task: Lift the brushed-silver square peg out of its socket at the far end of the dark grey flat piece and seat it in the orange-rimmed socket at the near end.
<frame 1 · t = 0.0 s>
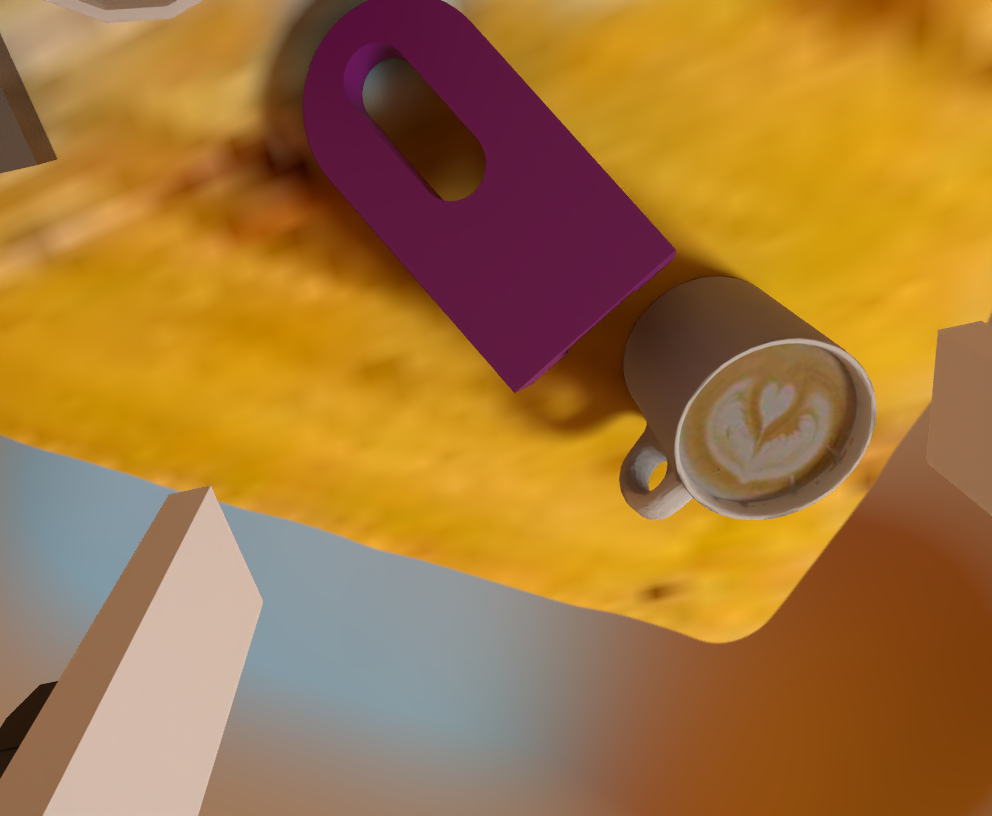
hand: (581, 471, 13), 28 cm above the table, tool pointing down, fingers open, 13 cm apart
mounting bracket: (471, 173, 38), on the table
coffee mug: (679, 372, 44), on the table
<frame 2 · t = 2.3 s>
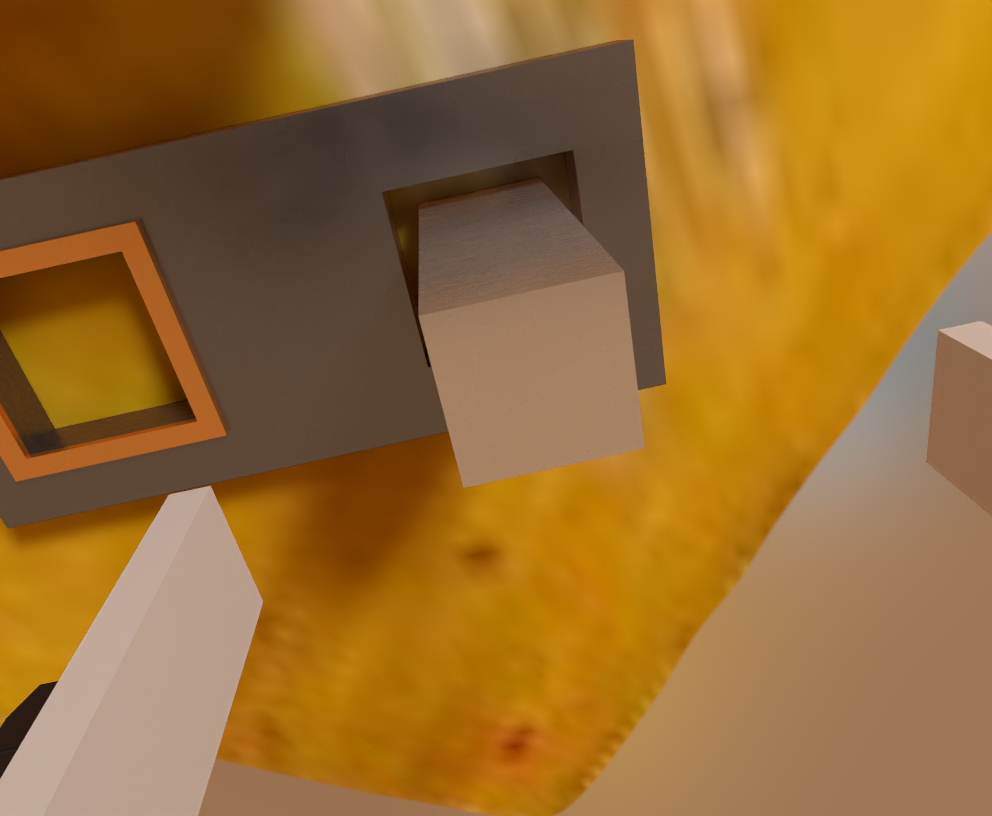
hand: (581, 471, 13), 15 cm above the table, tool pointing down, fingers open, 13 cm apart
peg: (491, 250, 27), resting in dark grey flat piece
dark grey flat piece: (294, 293, 27), on the table
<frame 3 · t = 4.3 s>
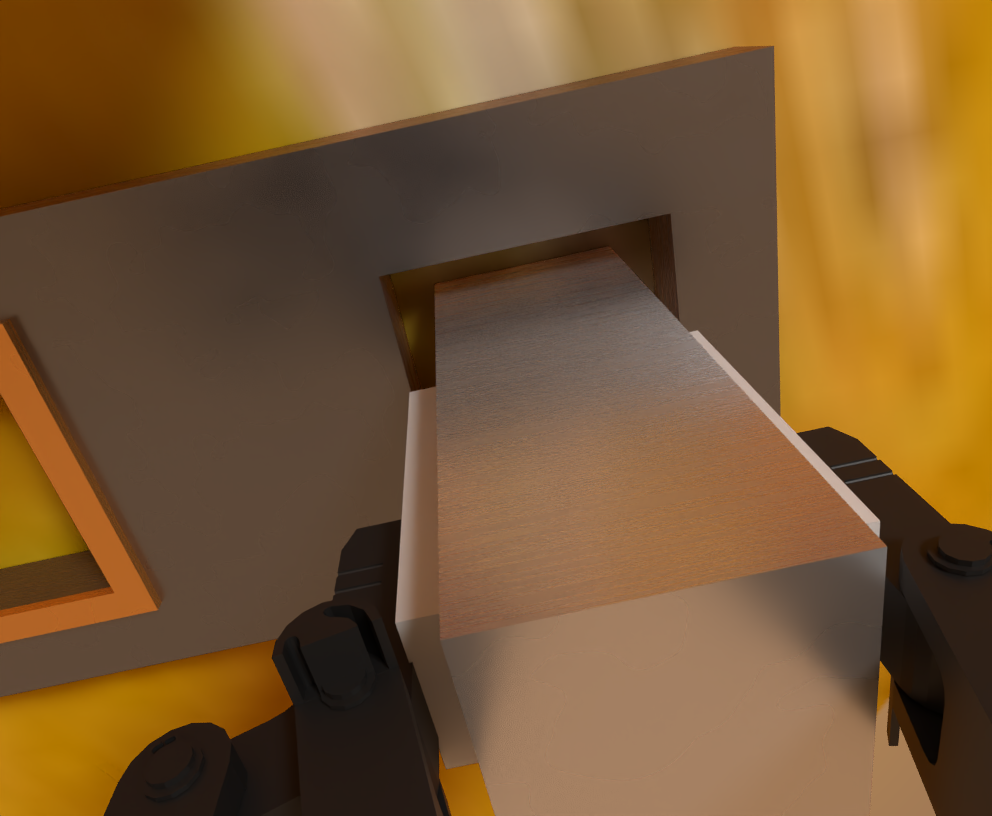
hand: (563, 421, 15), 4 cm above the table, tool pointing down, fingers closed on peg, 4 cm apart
peg: (536, 346, 19), resting in dark grey flat piece, touching gripper
dark grey flat piece: (255, 407, 19), on the table
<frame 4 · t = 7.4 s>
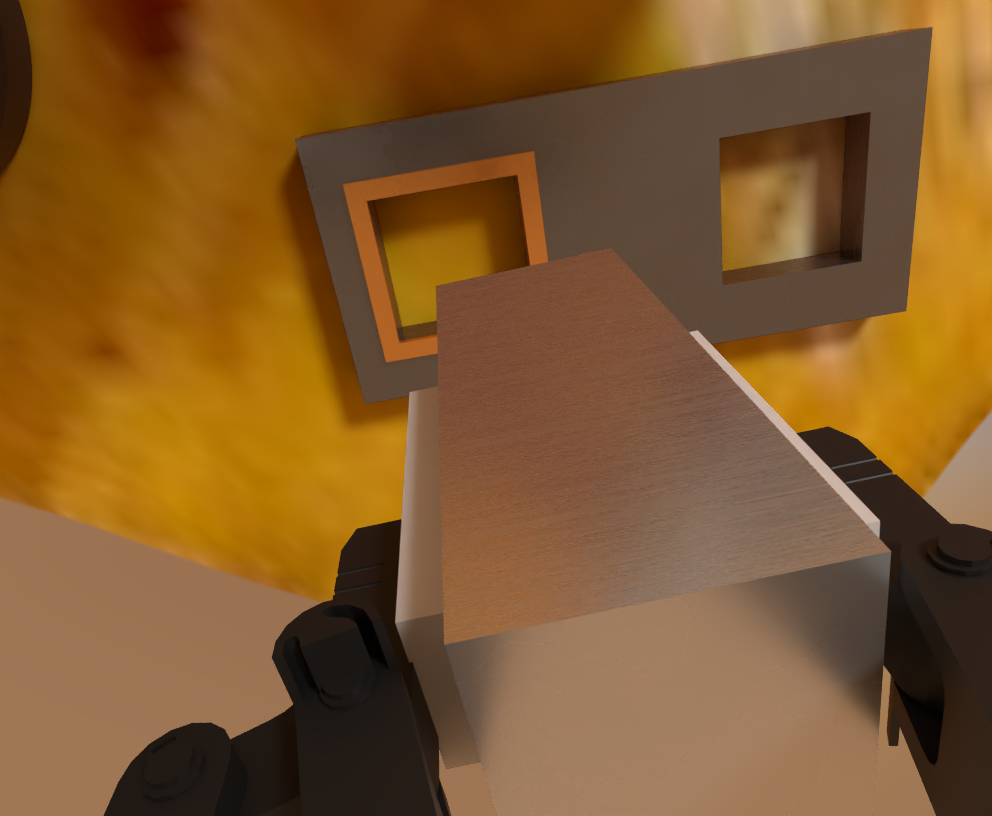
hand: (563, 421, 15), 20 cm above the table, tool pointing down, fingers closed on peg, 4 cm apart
peg: (538, 348, 19), point 16 cm above the table, touching gripper
dark grey flat piece: (614, 223, 33), on the table
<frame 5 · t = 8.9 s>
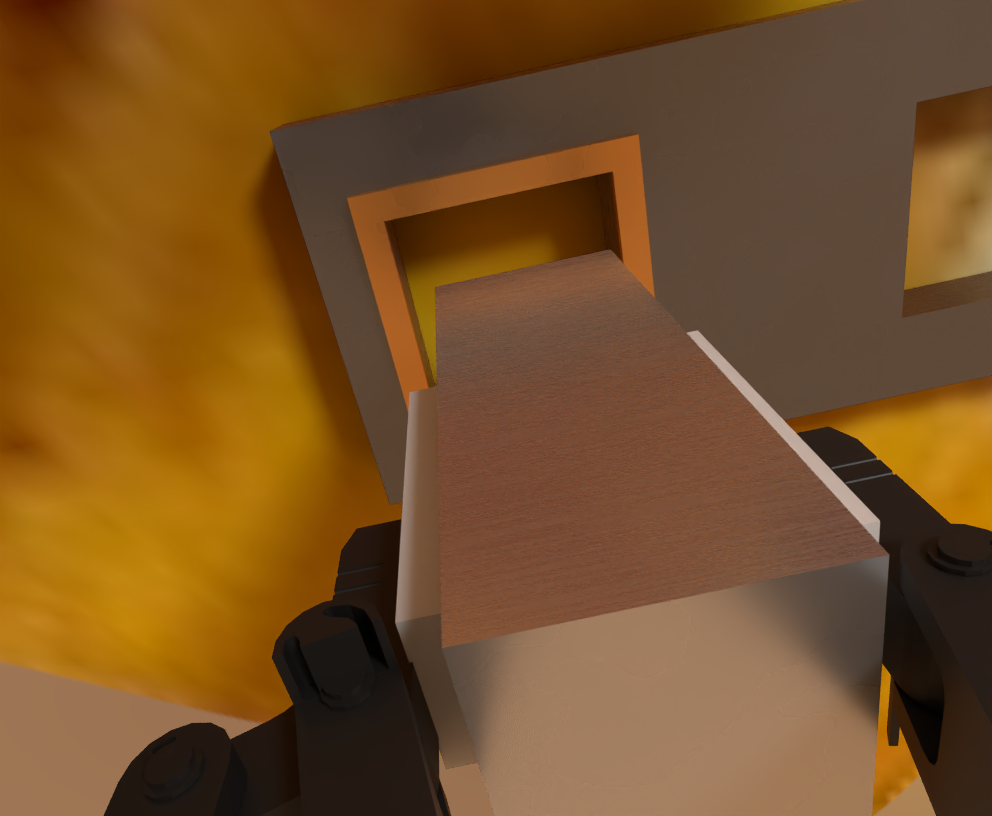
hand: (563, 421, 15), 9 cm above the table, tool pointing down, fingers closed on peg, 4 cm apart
peg: (537, 349, 19), point 5 cm above the table, touching gripper
dark grey flat piece: (739, 233, 23), on the table
when the fingers open (6 cm above the table, at t = 10.3 s): peg drops 1 cm, resting in dark grey flat piece.
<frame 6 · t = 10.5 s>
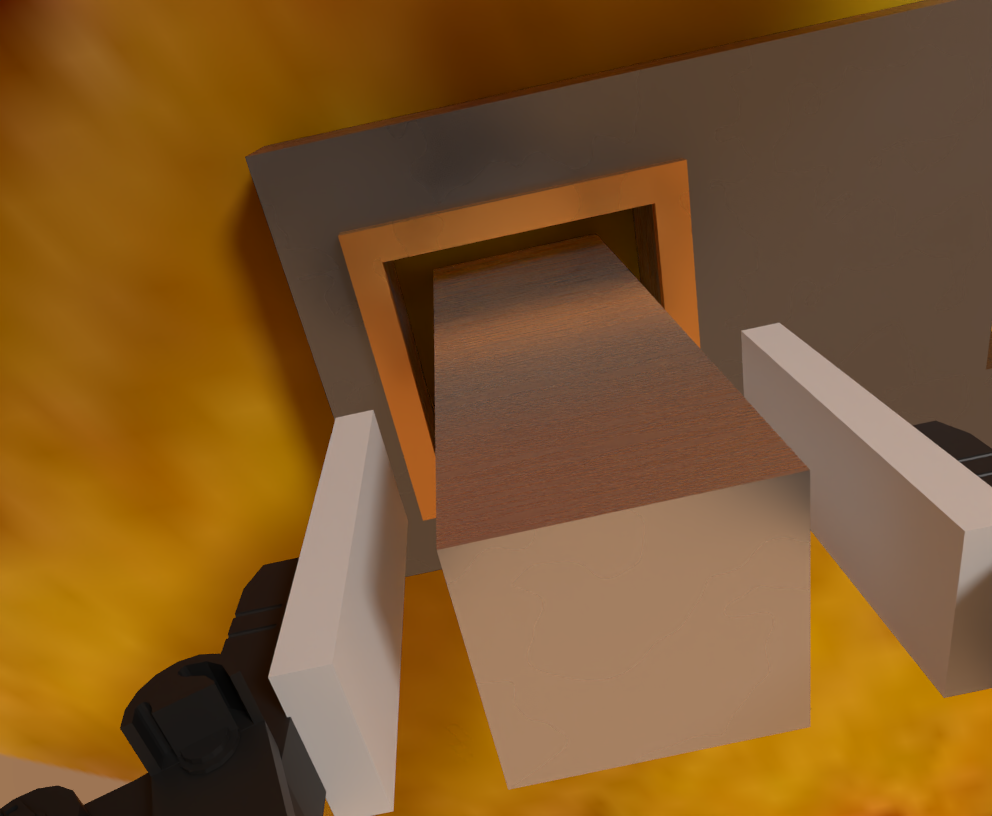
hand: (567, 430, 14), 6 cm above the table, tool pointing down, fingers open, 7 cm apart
peg: (529, 328, 20), resting in dark grey flat piece
dark grey flat piece: (795, 270, 20), on the table
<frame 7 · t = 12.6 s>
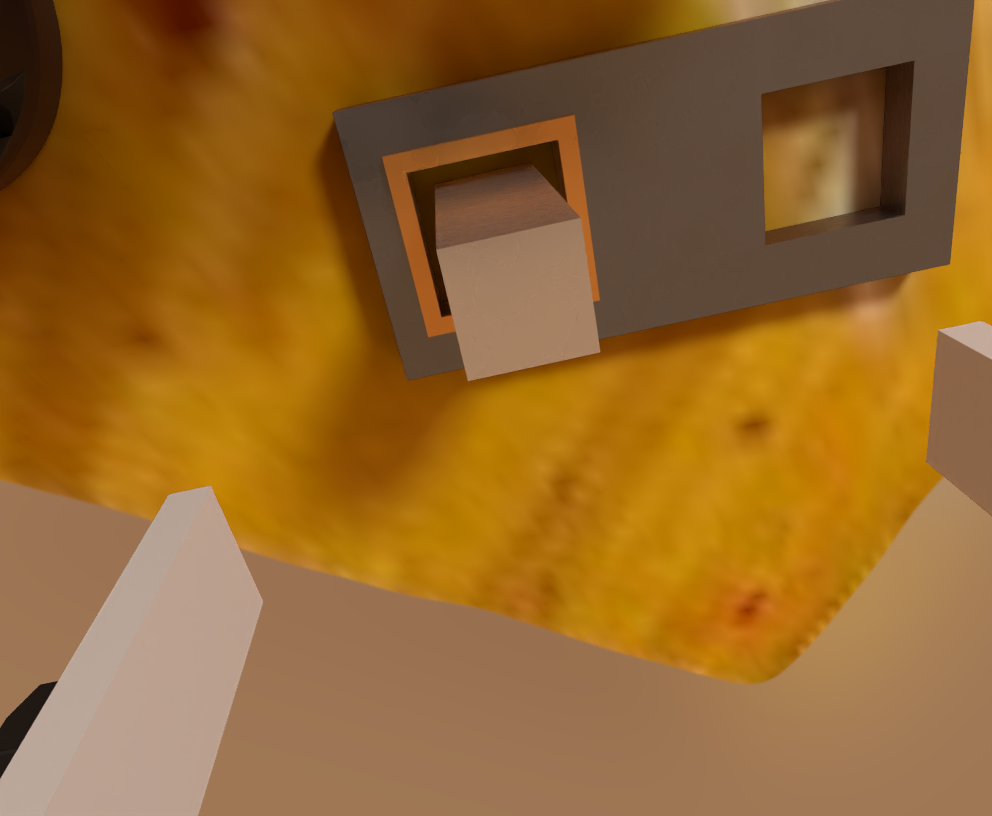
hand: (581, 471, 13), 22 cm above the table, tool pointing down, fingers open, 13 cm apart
peg: (492, 222, 33), resting in dark grey flat piece
dark grey flat piece: (653, 186, 33), on the table
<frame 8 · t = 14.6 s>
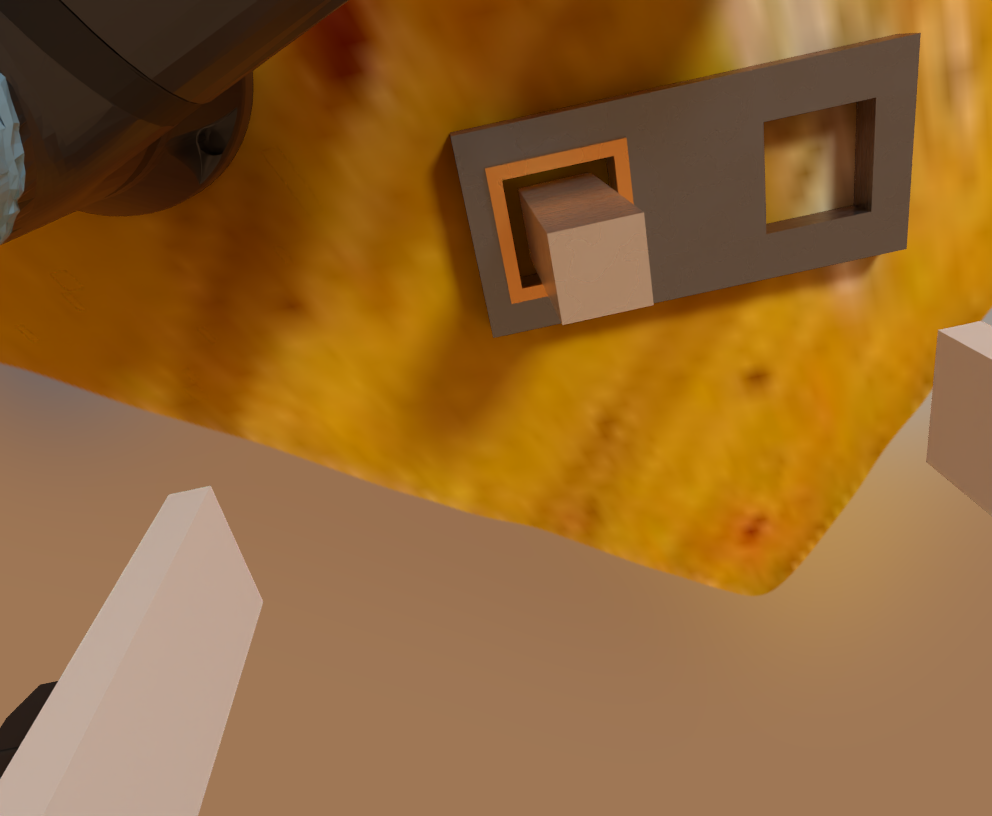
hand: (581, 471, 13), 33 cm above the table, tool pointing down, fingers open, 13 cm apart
peg: (559, 216, 44), resting in dark grey flat piece
dark grey flat piece: (681, 190, 43), on the table
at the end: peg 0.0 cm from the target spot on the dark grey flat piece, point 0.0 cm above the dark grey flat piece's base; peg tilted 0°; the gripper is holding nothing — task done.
